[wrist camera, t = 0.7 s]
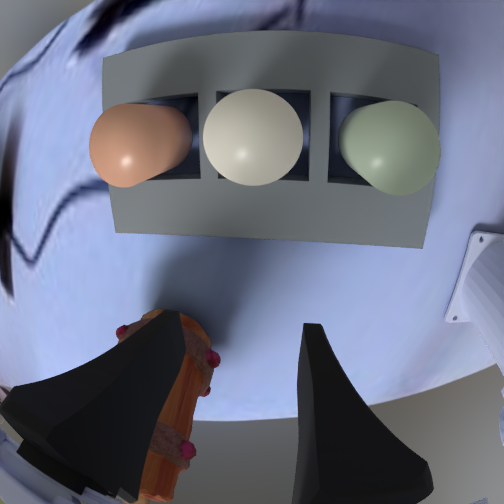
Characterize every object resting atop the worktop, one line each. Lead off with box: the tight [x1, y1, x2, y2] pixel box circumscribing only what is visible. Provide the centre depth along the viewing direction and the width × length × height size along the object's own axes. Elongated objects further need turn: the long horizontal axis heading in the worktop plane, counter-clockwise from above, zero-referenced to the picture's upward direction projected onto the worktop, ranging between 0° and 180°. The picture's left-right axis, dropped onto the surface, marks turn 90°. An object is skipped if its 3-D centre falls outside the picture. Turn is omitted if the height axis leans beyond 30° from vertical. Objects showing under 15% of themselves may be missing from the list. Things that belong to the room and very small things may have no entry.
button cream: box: [203, 89, 303, 186], centre depth 13 cm, size 4×4×4 cm
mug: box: [116, 309, 221, 504], centre depth 18 cm, size 15×8×15 cm, turn 165°
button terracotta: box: [89, 103, 192, 187], centre depth 13 cm, size 4×4×4 cm
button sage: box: [338, 100, 440, 196], centre depth 12 cm, size 4×4×4 cm
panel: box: [102, 30, 440, 249], centre depth 15 cm, size 20×12×2 cm, turn 91°
